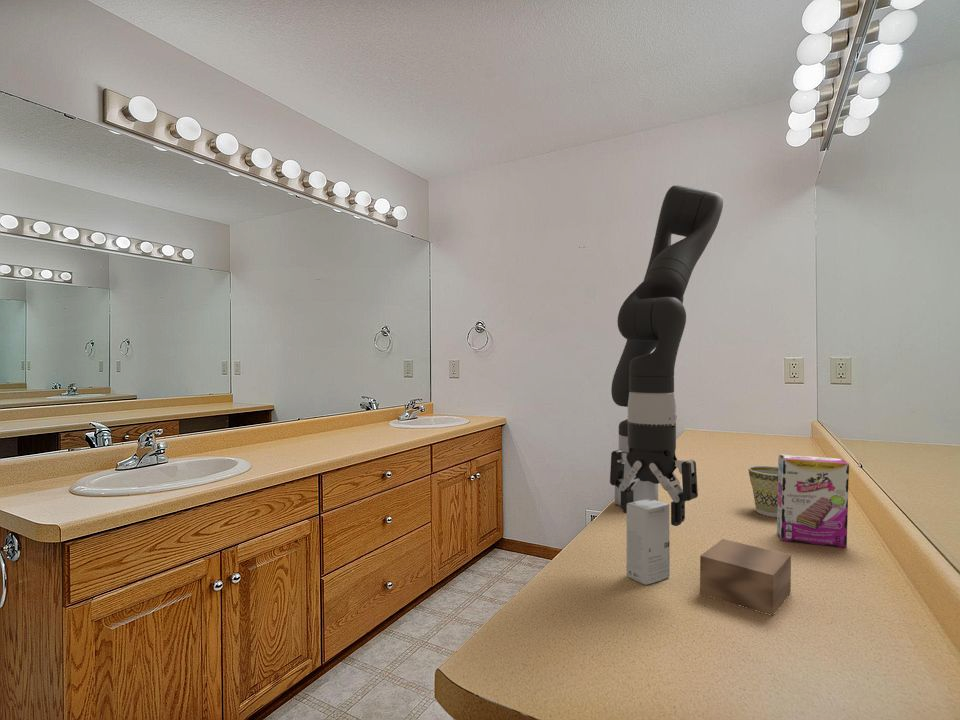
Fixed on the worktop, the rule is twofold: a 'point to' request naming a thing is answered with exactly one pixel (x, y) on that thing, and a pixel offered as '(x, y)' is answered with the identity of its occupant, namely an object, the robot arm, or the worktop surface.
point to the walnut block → (746, 575)
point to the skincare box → (648, 541)
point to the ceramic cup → (765, 489)
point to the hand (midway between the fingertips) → (651, 518)
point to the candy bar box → (812, 500)
